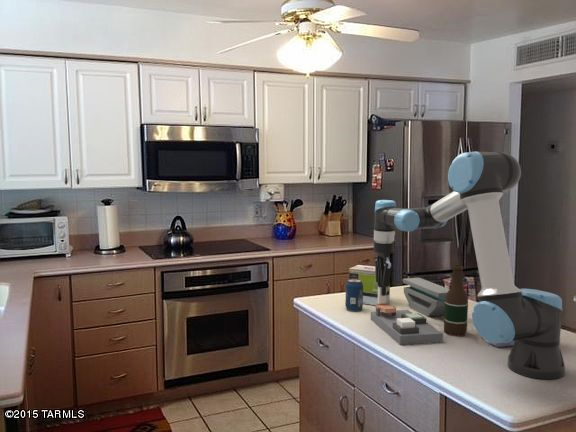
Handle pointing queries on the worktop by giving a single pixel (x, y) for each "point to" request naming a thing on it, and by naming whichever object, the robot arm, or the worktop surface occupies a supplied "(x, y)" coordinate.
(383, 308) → the rocker switch
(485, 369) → the worktop surface
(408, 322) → the white button
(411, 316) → the green button
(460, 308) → the beer bottle
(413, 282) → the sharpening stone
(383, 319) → the control console
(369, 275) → the tea box
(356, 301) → the soda can
